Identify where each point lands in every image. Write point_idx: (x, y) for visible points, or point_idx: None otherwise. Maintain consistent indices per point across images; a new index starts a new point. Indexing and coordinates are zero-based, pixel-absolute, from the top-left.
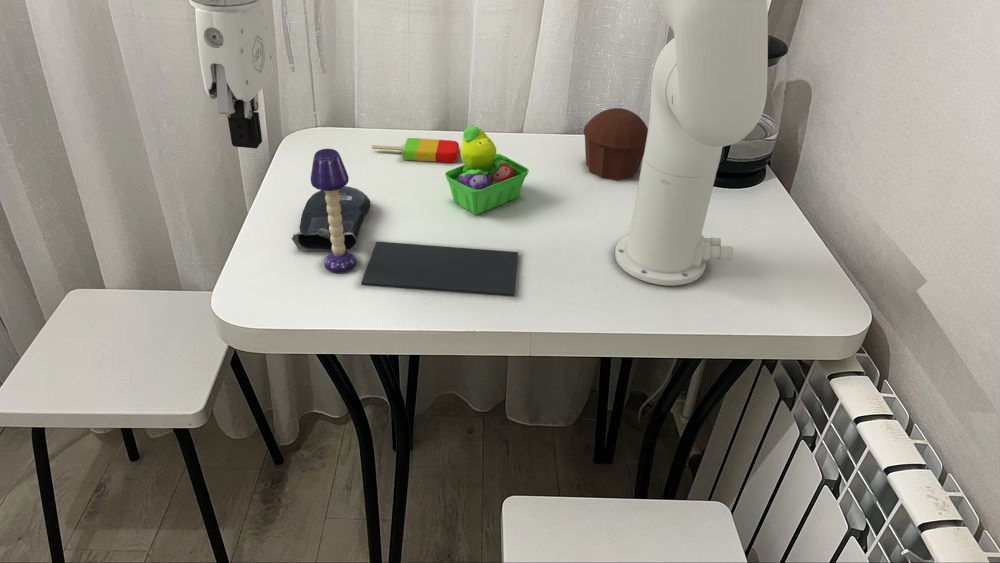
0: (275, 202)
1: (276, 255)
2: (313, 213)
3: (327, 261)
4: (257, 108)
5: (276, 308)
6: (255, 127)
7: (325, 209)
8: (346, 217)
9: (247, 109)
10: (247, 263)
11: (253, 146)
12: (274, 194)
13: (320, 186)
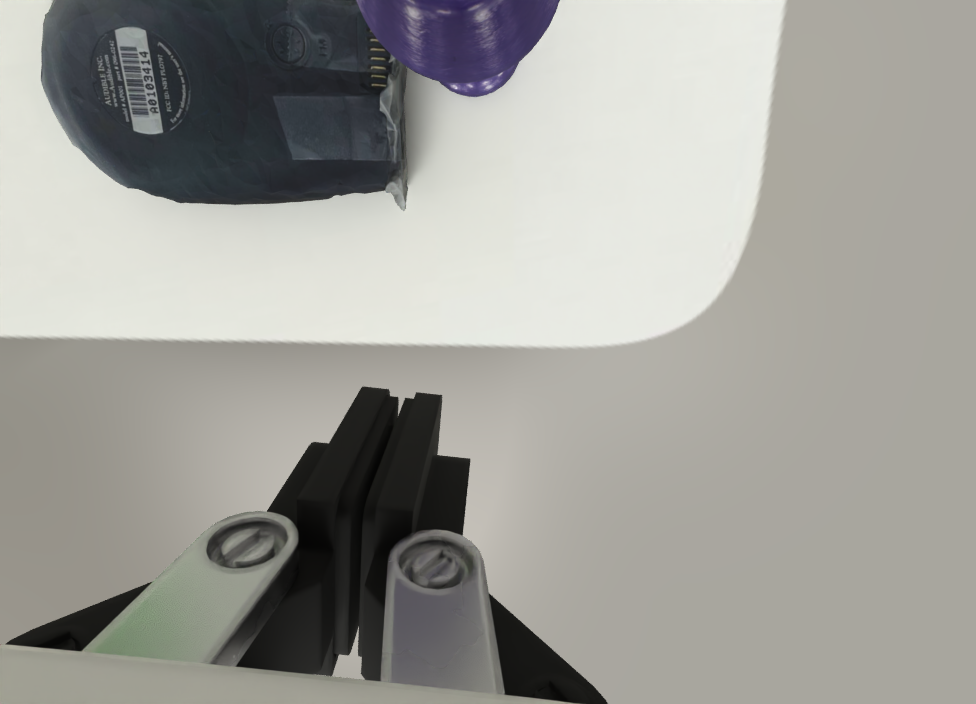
0: (157, 304)
1: (433, 248)
2: (265, 159)
3: (494, 79)
4: (242, 522)
5: (680, 201)
6: (426, 461)
7: (230, 120)
8: (268, 31)
9: (487, 618)
10: (475, 315)
11: (439, 419)
12: (113, 315)
13: (557, 4)
